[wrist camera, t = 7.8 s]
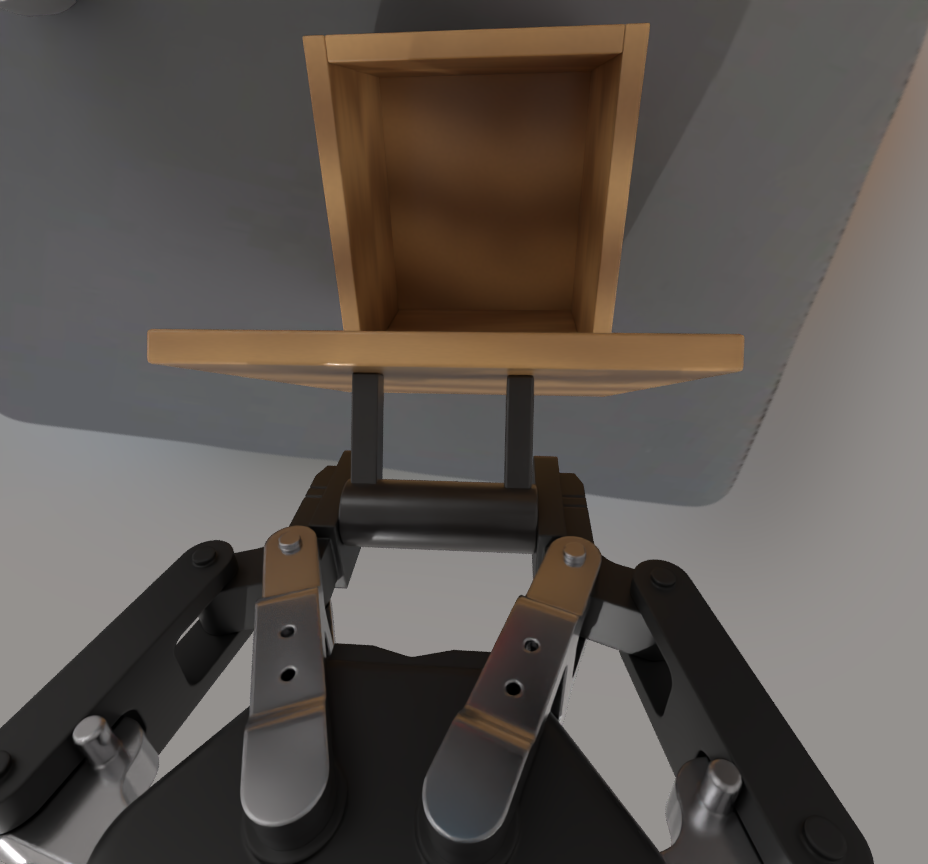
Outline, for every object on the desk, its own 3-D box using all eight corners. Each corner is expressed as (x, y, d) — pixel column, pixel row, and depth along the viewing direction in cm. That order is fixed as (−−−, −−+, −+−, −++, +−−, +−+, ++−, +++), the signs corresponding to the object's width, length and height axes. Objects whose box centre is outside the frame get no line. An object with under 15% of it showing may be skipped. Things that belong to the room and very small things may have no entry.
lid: (145, 328, 12) (145, 561, 12) (746, 333, 11) (736, 588, 11) (348, 376, 28) (346, 479, 28) (606, 380, 27) (603, 487, 27)
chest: (365, 60, 30) (301, 35, 21) (607, 52, 29) (650, 22, 20) (389, 317, 37) (350, 380, 28) (582, 318, 36) (604, 384, 27)
